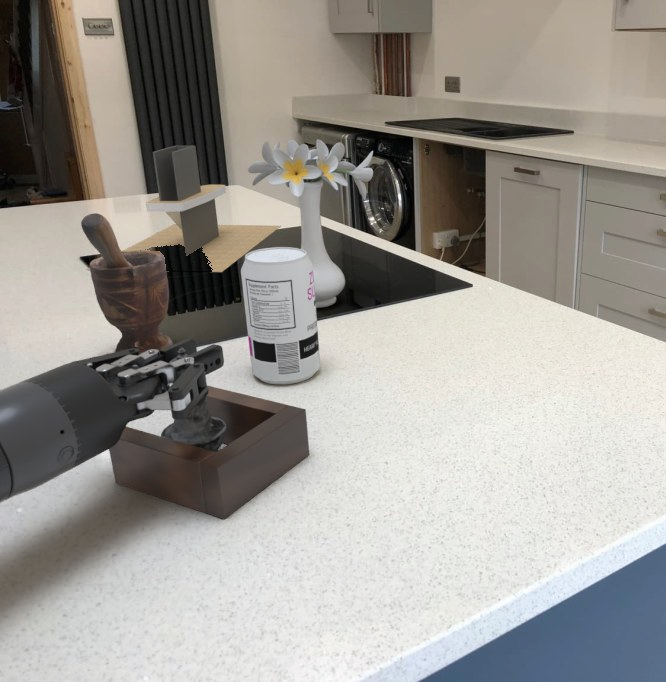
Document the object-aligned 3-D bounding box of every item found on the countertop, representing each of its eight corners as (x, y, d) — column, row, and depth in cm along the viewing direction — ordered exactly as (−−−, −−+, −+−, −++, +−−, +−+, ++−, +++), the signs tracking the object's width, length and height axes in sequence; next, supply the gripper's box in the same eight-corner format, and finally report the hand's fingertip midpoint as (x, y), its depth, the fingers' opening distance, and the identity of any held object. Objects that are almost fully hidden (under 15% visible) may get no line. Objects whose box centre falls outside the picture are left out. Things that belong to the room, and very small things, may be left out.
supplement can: (241, 371, 91) (227, 253, 85) (300, 354, 96) (291, 242, 90) (271, 392, 85) (258, 268, 80) (333, 374, 90) (325, 255, 85)
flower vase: (389, 304, 115) (383, 140, 106) (272, 322, 107) (256, 147, 98) (360, 282, 126) (353, 132, 117) (252, 298, 118) (235, 138, 109)
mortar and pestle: (179, 373, 90) (154, 212, 83) (102, 383, 88) (70, 217, 80) (178, 341, 100) (156, 194, 93) (110, 349, 98) (82, 199, 90)
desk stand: (115, 483, 67) (105, 434, 65) (209, 427, 77) (203, 384, 75) (224, 519, 62) (217, 468, 60) (309, 454, 72) (306, 408, 70)
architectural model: (173, 224, 169) (161, 136, 162) (281, 225, 168) (273, 136, 161) (86, 269, 134) (65, 159, 127) (221, 272, 132) (208, 160, 125)
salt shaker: (153, 467, 70) (132, 350, 65) (204, 442, 74) (188, 331, 70) (193, 486, 67) (173, 364, 62) (243, 458, 71) (228, 343, 67)
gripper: (94, 402, 50) (261, 324, 65) (-32, 367, 56) (147, 303, 71) (113, 495, 53) (269, 401, 68) (-9, 453, 59) (158, 374, 73)
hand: (206, 351), depth 69 cm, fingers closed on salt shaker, 2 cm apart
